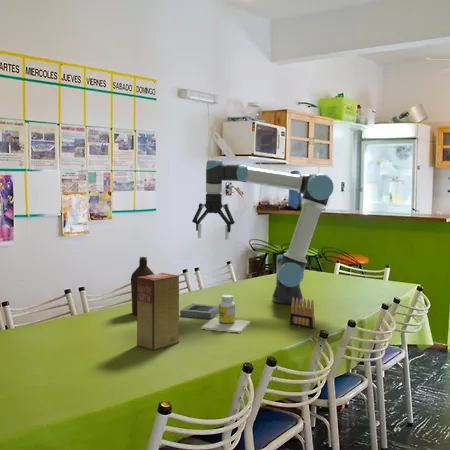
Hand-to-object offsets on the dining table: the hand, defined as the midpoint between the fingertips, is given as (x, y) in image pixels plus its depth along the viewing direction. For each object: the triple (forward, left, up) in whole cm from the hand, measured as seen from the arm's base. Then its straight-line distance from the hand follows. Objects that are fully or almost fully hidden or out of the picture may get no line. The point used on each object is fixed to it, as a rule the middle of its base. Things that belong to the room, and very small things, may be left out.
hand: (213, 238), depth 264 cm
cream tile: (-18, +34, -32) cm, 50 cm away
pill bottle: (-18, +34, -31) cm, 49 cm away
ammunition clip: (-47, +23, -32) cm, 61 cm away
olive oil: (+23, +27, -32) cm, 48 cm away
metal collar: (-1, +18, -32) cm, 36 cm away
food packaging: (-2, +66, -32) cm, 73 cm away
